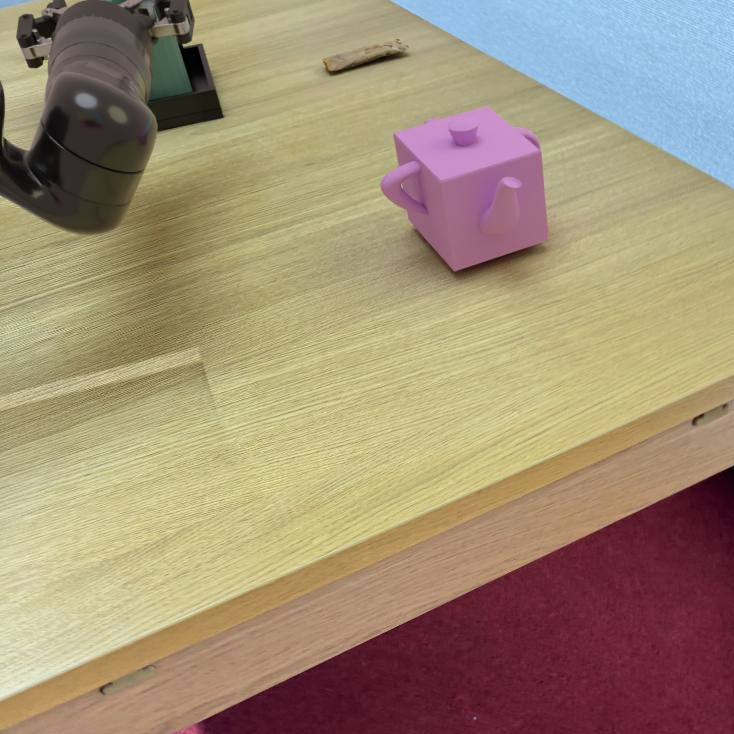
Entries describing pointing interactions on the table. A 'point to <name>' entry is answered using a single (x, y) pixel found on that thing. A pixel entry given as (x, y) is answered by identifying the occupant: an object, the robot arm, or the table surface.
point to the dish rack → (189, 94)
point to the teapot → (470, 186)
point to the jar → (166, 67)
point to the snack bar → (363, 55)
